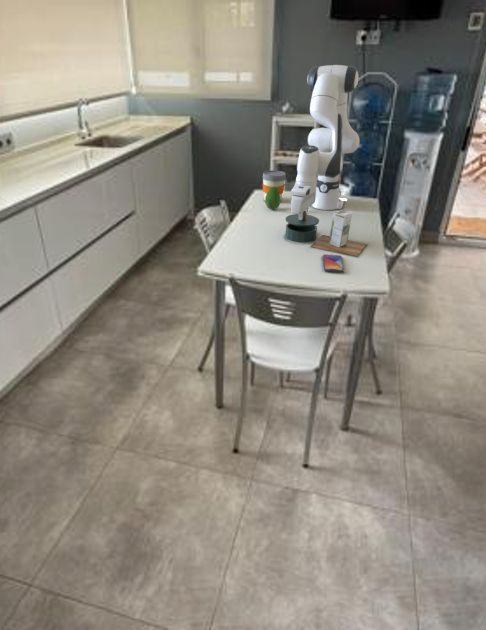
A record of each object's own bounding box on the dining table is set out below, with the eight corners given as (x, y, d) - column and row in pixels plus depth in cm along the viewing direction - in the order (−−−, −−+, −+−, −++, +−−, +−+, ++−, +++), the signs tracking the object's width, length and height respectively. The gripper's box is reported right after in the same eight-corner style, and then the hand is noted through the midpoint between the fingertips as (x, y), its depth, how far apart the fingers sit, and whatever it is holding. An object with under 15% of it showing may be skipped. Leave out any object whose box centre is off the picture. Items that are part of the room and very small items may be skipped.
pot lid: (292, 214, 207) (293, 204, 204) (323, 220, 201) (324, 209, 198) (280, 223, 196) (281, 213, 193) (311, 230, 190) (313, 219, 187)
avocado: (276, 206, 240) (277, 184, 234) (282, 211, 234) (283, 188, 228) (262, 207, 238) (263, 185, 232) (267, 212, 232) (269, 189, 225)
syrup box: (335, 240, 198) (340, 208, 191) (347, 244, 195) (352, 212, 187) (328, 244, 195) (333, 211, 187) (340, 248, 191) (345, 215, 184)
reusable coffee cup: (268, 195, 256) (270, 169, 248) (288, 200, 250) (290, 172, 242) (256, 201, 247) (258, 173, 240) (276, 205, 241) (278, 177, 234)
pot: (292, 230, 210) (293, 219, 207) (319, 236, 205) (321, 225, 202) (280, 239, 200) (281, 228, 197) (309, 246, 194) (310, 234, 192)
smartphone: (341, 257, 184) (341, 255, 184) (343, 273, 172) (343, 270, 171) (322, 256, 185) (323, 254, 185) (323, 271, 172) (324, 269, 172)
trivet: (322, 236, 205) (322, 234, 204) (366, 244, 196) (366, 243, 196) (311, 247, 193) (311, 245, 193) (357, 257, 185) (357, 255, 185)
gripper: (307, 180, 199) (304, 210, 206) (289, 191, 184) (286, 223, 191) (320, 182, 197) (317, 212, 204) (304, 193, 181) (300, 226, 189)
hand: (302, 218), depth 197 cm, fingers closed on pot lid, 2 cm apart
